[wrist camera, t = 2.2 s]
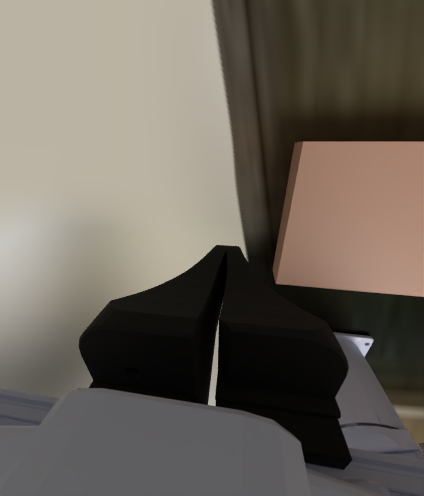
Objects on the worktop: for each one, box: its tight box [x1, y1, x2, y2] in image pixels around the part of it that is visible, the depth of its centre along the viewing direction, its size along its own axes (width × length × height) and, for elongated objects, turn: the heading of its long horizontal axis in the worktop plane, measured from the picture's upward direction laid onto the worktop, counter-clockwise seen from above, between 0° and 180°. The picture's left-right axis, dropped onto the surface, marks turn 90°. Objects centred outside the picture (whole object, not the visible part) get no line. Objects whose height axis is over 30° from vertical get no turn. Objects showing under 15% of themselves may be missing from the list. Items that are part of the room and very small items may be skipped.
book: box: [273, 142, 424, 297], centre depth 16 cm, size 12×15×3 cm
